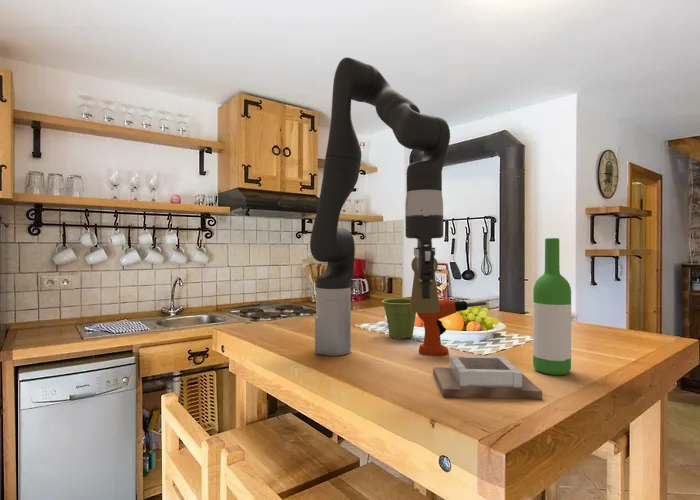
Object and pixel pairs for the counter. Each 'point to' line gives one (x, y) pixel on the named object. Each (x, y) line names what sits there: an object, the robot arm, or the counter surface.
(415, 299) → the olive chess pawn
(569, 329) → the wine bottle
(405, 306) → the plant pot
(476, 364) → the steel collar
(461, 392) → the socket board
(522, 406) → the counter surface
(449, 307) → the toy drill
